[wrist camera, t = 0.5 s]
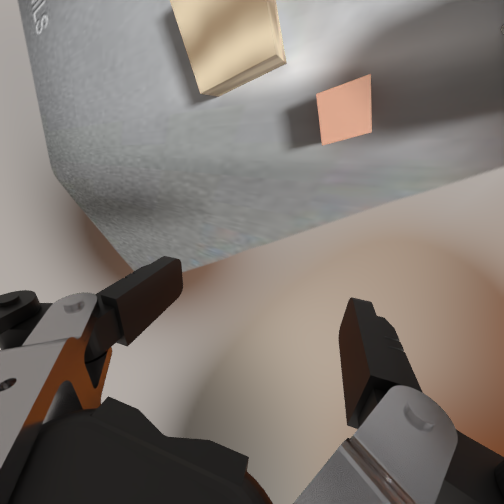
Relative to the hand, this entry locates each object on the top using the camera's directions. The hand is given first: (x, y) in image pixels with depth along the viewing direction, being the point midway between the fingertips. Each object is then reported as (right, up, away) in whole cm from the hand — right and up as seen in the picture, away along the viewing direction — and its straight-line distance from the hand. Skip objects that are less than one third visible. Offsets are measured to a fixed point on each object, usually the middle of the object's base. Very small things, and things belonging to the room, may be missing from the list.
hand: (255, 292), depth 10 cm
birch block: (-2, +29, +16) cm, 33 cm away
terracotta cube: (+11, +19, +16) cm, 27 cm away
